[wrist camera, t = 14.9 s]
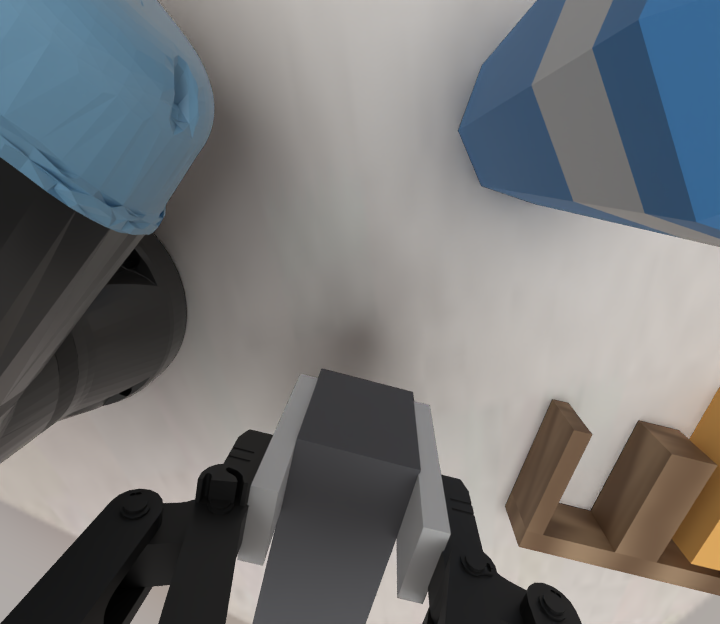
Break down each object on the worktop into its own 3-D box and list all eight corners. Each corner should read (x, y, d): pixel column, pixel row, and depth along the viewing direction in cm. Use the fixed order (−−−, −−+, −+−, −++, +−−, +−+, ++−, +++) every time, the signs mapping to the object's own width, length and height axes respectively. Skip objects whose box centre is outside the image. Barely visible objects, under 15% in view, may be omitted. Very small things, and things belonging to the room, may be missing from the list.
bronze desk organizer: (505, 506, 33) (518, 546, 30) (552, 399, 30) (574, 430, 27) (697, 553, 34) (733, 599, 30) (764, 451, 30) (814, 489, 27)
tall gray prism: (275, 558, 21) (242, 668, 17) (321, 368, 18) (296, 438, 13) (351, 577, 21) (340, 693, 17) (412, 392, 18) (420, 470, 13)
